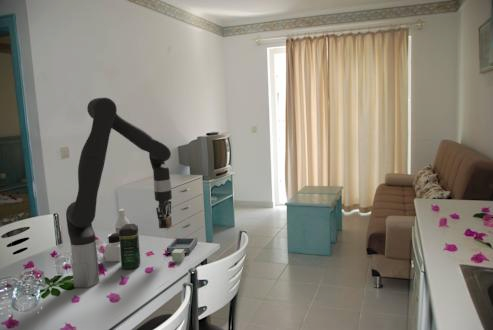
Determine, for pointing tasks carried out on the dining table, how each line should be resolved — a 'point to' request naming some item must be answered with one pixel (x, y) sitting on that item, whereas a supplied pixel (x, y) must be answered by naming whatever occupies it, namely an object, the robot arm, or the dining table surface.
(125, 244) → the coffee jar
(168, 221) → the walnut block
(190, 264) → the dining table surface
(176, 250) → the sage block
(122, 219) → the bath foam
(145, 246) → the dining table surface
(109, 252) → the medicine bottle
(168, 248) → the tray
